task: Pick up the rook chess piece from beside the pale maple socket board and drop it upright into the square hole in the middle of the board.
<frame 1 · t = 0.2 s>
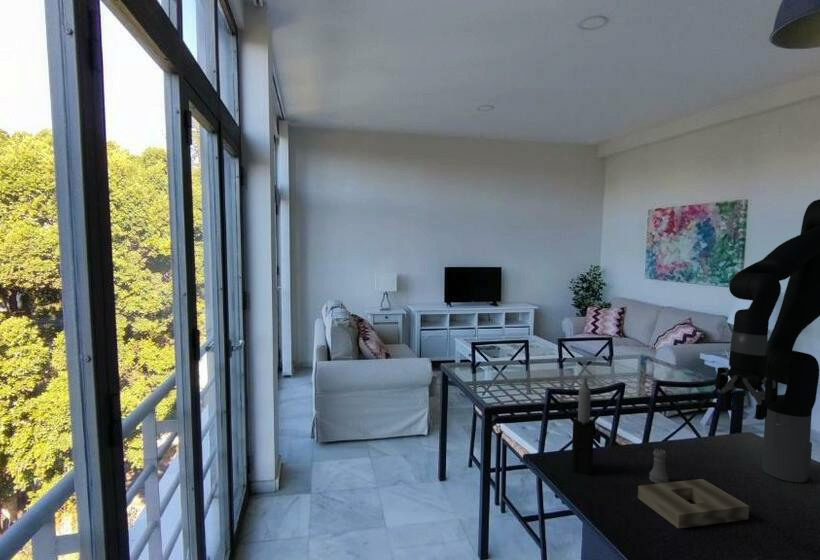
hand: (742, 413, 113), 17 cm above the table, tool pointing down, fingers open, 8 cm apart
rook chess piece: (658, 481, 113), on the table
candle: (581, 470, 118), on the table
socket board: (690, 508, 101), on the table
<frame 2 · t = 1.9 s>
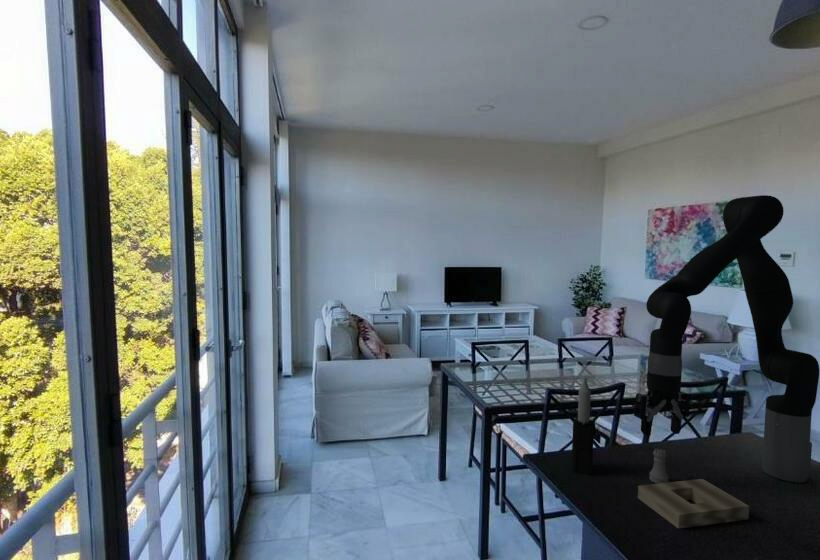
hand: (660, 433, 112), 12 cm above the table, tool pointing down, fingers open, 8 cm apart
nothing on the table moved.
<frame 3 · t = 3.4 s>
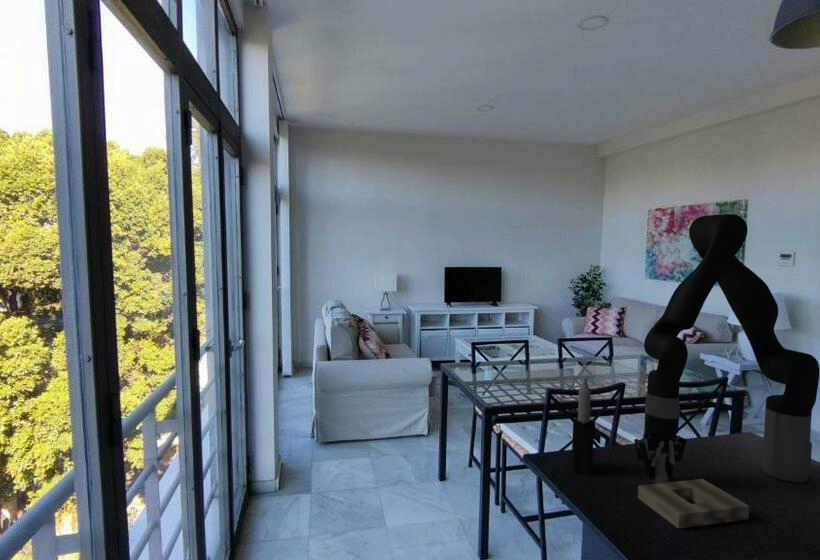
hand: (658, 477, 113), 1 cm above the table, tool pointing down, fingers closed on rook chess piece, 4 cm apart
rook chess piece: (658, 481, 113), on the table, touching gripper
everything else where it was.
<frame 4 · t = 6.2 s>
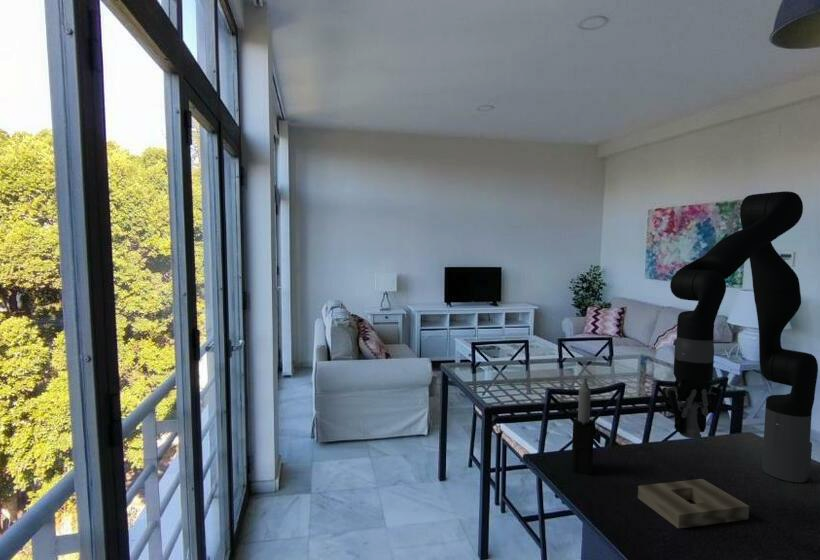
hand: (689, 431, 101), 17 cm above the table, tool pointing down, fingers closed on rook chess piece, 4 cm apart
rook chess piece: (689, 436, 101), point 16 cm above the table, touching gripper
everything else where it was.
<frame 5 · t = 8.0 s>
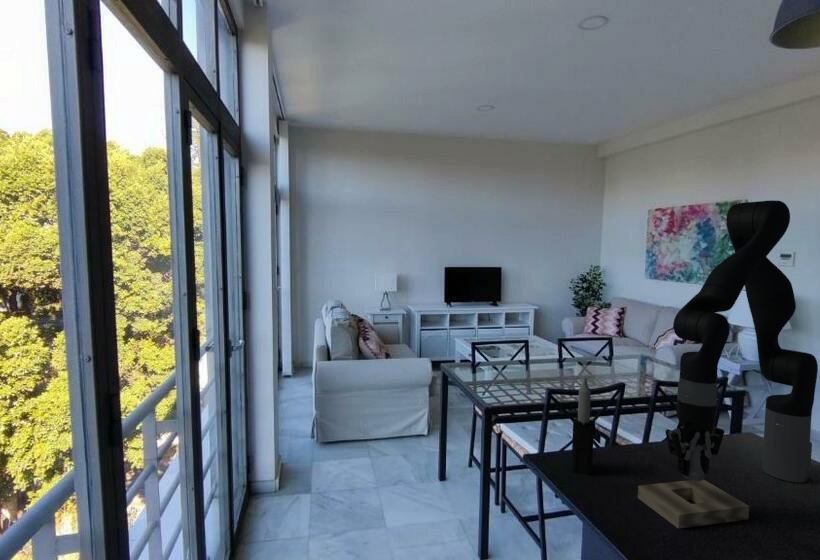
hand: (692, 473, 100), 8 cm above the table, tool pointing down, fingers closed on rook chess piece, 4 cm apart
rook chess piece: (692, 477, 100), point 7 cm above the table, touching gripper
everything else where it was.
when the fingers open (4 cm above the table, at t = 9.3 s): rook chess piece drops 3 cm, resting in socket board.
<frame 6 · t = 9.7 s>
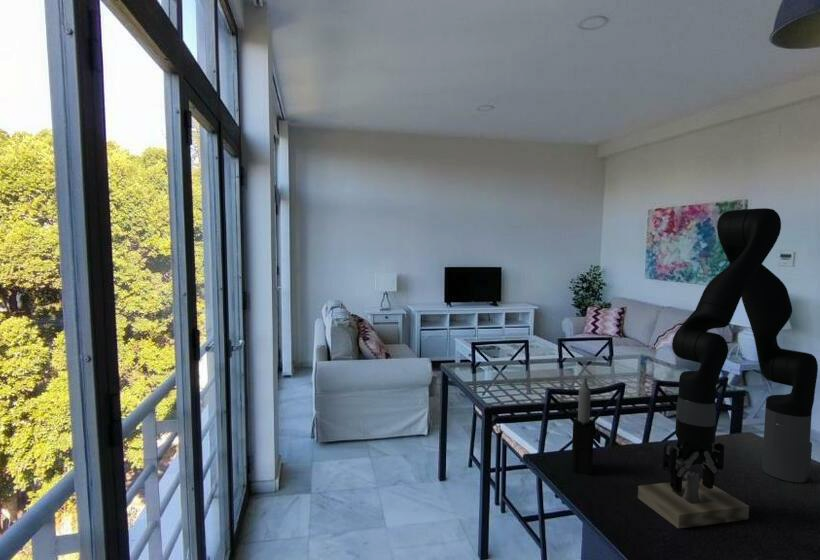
hand: (691, 488, 100), 5 cm above the table, tool pointing down, fingers open, 8 cm apart
rook chess piece: (691, 509, 101), resting in socket board
everything else where it was.
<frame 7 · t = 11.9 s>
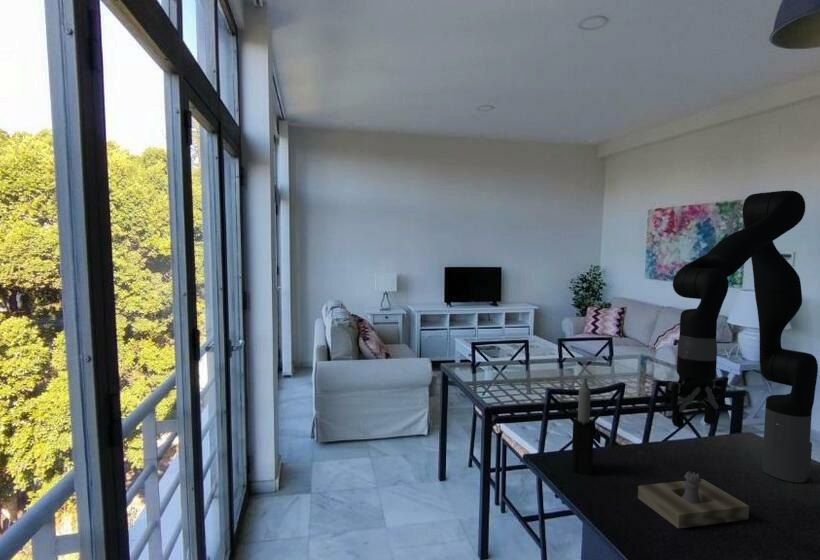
hand: (693, 425, 101), 19 cm above the table, tool pointing down, fingers open, 8 cm apart
nothing on the table moved.
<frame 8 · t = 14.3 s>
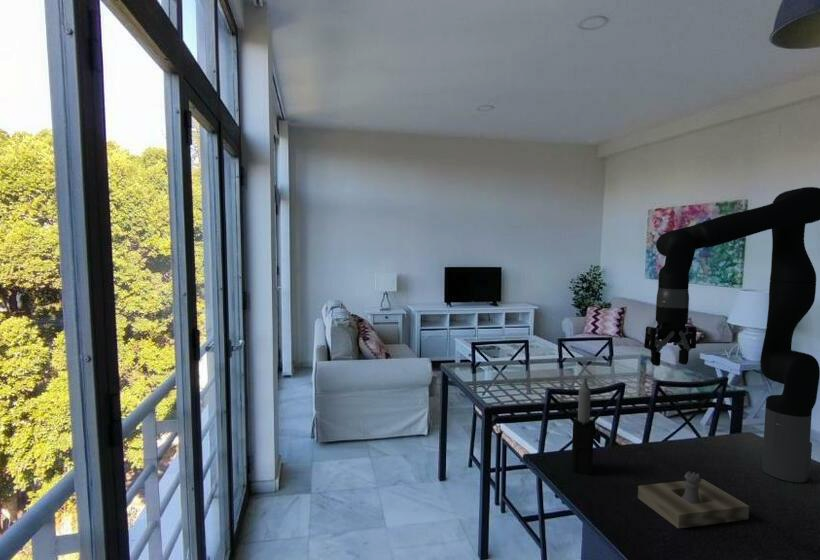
hand: (669, 364, 120), 28 cm above the table, tool pointing down, fingers open, 8 cm apart
nothing on the table moved.
at the end: rook chess piece 0.1 cm off-centre on the socket board, point 0.0 cm above the socket board's base; rook chess piece tilted 0°; the gripper is holding nothing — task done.
